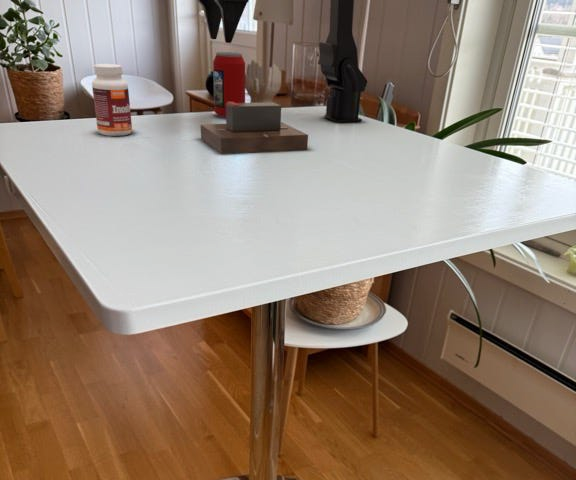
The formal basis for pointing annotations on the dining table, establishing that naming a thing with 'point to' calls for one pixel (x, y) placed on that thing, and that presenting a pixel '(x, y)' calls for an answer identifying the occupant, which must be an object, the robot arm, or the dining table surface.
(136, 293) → the dining table surface
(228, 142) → the brown wooden base
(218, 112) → the beverage can
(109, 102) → the pill bottle
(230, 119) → the rectangular block
